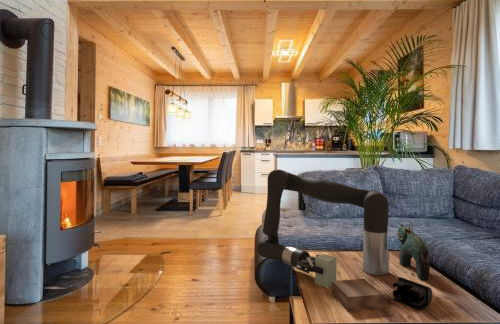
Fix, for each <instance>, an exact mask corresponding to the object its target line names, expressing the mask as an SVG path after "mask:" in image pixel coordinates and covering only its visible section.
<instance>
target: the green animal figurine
mask: <svg viewBox="0 0 500 324" xmlns="http://www.w3.org/2000/svg"><path fill="white" fill-rule="evenodd" d="M408 225H409V226H404V224H402V223H401V224H400V226H399V228H397V236H396V237H397V239H398V241H399V242H400V247H399V256H398V257H399V265H400V266H402V267H406V268H407V267H410V268H411V267H412V259H413V260H414V262H415V266H416V267H415V268H416V276H417V279H418V280H420V281H425V282H426V281H429V277H430V270H431V269H430V267H431V263H430V254H429V249H428V246H427V244H426V242H425V240H424V239H423V238H422V237H421V236H420V235H419V234H418V233H414V230H413V229H412V228H413V227H414V225H413V223H412V222H409V223H408ZM410 226H412V227H410Z"/></svg>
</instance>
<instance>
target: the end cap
mask: <svg viewBox="0 0 500 324" xmlns="http://www.w3.org/2000/svg"><path fill="white" fill-rule="evenodd" d="M392 288H396V289H394V290H392V296H393V301H395V302H398V303H400V304H402V305H404V306H407V307H409V308H412V309H415V310H416V311H420V312H421V311H422V310H425V309H427V307H428V306H429V305H430V304H431V302H432V299H433V289H432V288H431V287H430V286H427V285H425V284H421V283H418V282H416V281H413V280H410V279H407V278H404V277H401V276H398V278H397V281H395V282H393V283H392Z"/></svg>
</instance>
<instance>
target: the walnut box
mask: <svg viewBox="0 0 500 324" xmlns="http://www.w3.org/2000/svg"><path fill="white" fill-rule="evenodd" d="M331 294H332V296H333V297H334V298H335V299H336V301H338V302H339V304H340V305H341V306H342V307H343V308H344V309H345V310H346V311H347V312H359V311H370V310H371V311H372V310H384V295H385V294H383V292H381V291H380V290H379V289H377V288H376V287H375V286H374V285H373V284H371V283H370V282H369V281H368V280H366V279H365V278H355V279H341V280H340V279H339V280H336V281H332V286H331Z"/></svg>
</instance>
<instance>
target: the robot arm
mask: <svg viewBox="0 0 500 324" xmlns="http://www.w3.org/2000/svg"><path fill="white" fill-rule="evenodd" d="M284 190H285V191H291V192H296V193H299V194H302V195H305V196H307V197H309V198H312V199H315V200H317V201H322V202H326V203H330V204H331V203H332V204H345V205H352V206H357V207H359V208H363V233H362V235H363V236H362V237H363V238H362V240H363V242H362V243H363V245H362V247H363V248H362V271H363V272H364V273H366V274H369V275H373V276H385V275H387V274H390V250H389V249H388V228H389V227H388V226H389V215H390V213H389V211H390V209H389V208H390V205H389V204H390V203H389V200H388V198H387V196H386V195H385V194H384V193H382V192H380V191H378V190H370V189H369V190H368V189H361V188H356V187H352V186H348V185H345V184H343V183H339V182H336V181H331V180H327V179H324V178H315V177H310V176H309V177H308V176H300V175H297V174H293V173H292V172H288V171H286V170H283V169H279V168H278V169H276V168H275V169H273V170H271V171H270V172H269V174H268V175H267V196H266V207H265V214H264V220H263V227H262V234H264V235H265V236H267V239H266V240H264V239H263V240H260V241H259V242H257V244H256V245H255V246H256V247H255V249H256V253H257V254H258V255H259V256H261V258H266V259H270V260H276V261H279V262H281V263H285V264H286V265H288V266H291V267H294V268H296V269H297V270H299V271H302V272H304V273H305V274H310V273H314V274H315V273H318V274H321V275H322V274H323V268H320V267H317V266H315V257H317V256H320V255H321V254H316V255H315V256H314V255H310V253H309V251H307V250H305V249H301V248H298V247H294V246H289V245H286V244H281V243H280V240H279V228H280V222H281V202H282V196H283V193H284Z"/></svg>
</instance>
